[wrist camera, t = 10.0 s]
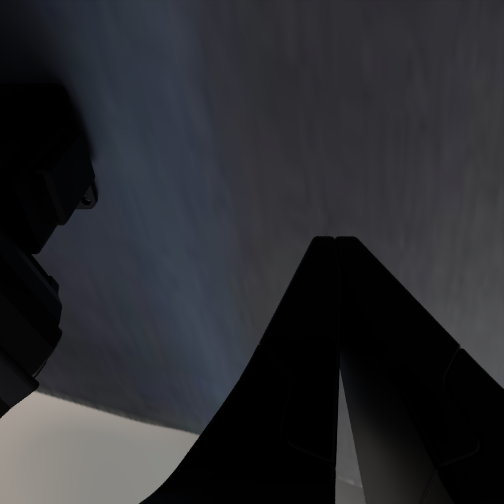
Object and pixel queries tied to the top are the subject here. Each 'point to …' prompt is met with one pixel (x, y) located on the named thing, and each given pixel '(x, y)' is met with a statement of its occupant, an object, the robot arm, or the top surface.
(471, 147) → the top surface
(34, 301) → the robot arm
